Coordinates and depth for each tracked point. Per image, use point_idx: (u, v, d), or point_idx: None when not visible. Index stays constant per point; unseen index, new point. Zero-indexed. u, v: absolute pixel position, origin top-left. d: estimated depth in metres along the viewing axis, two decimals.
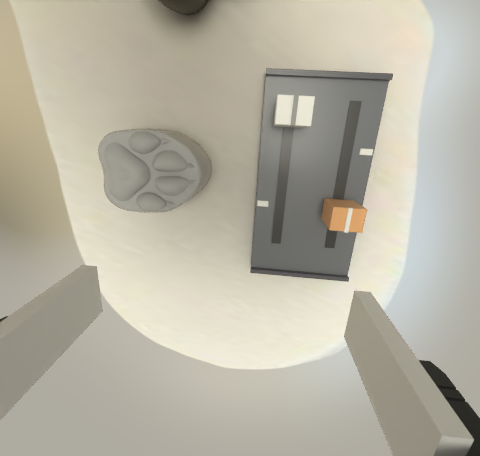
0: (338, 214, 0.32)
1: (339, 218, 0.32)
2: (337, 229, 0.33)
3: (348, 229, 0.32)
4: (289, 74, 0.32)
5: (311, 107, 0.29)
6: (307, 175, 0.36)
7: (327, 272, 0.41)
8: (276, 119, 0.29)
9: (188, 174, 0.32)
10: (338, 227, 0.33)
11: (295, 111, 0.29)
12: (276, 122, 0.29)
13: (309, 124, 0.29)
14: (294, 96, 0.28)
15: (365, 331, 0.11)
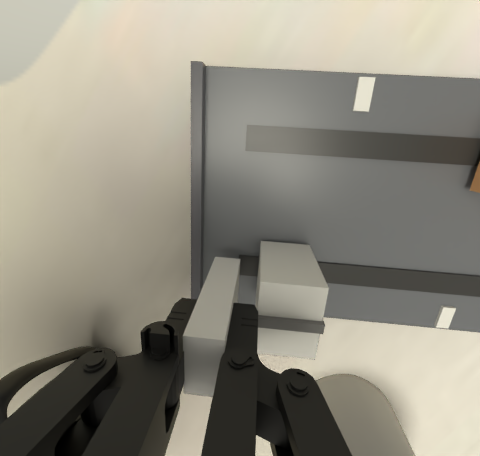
0: None
1: None
2: None
3: None
4: (199, 274, 0.17)
5: (284, 288, 0.12)
6: (398, 228, 0.16)
7: None
8: (305, 356, 0.13)
9: None
10: None
11: (293, 324, 0.12)
12: (311, 356, 0.13)
13: (324, 291, 0.12)
14: (259, 325, 0.12)
15: None
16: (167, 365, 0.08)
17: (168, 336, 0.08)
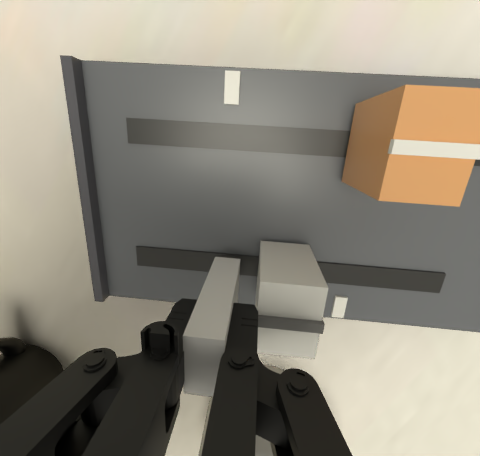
0: (407, 182, 0.10)
1: (422, 178, 0.10)
2: (463, 180, 0.10)
3: (475, 144, 0.09)
4: (96, 264, 0.18)
5: (284, 288, 0.12)
6: (283, 219, 0.16)
7: None
8: (305, 356, 0.13)
9: None
10: (456, 178, 0.10)
11: (293, 324, 0.12)
12: (311, 356, 0.13)
13: (324, 291, 0.12)
14: (259, 325, 0.12)
15: None
16: (167, 365, 0.08)
17: (168, 336, 0.08)
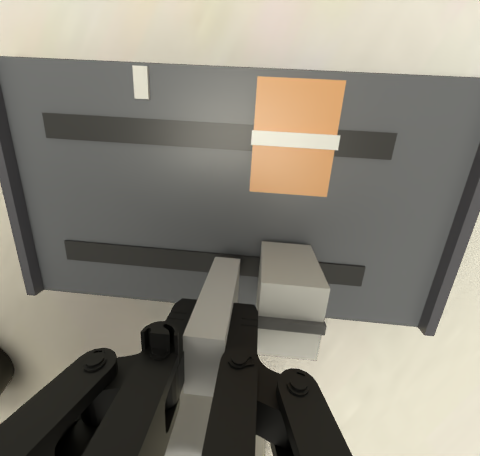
0: (273, 173, 0.10)
1: (287, 168, 0.10)
2: (326, 171, 0.10)
3: (329, 135, 0.09)
4: (25, 258, 0.18)
5: (286, 289, 0.12)
6: (204, 213, 0.17)
7: (475, 143, 0.14)
8: (306, 357, 0.13)
9: None
10: (319, 168, 0.10)
11: (294, 325, 0.12)
12: (313, 357, 0.13)
13: (326, 292, 0.11)
14: (260, 326, 0.12)
15: None
16: (167, 365, 0.08)
17: (168, 336, 0.08)
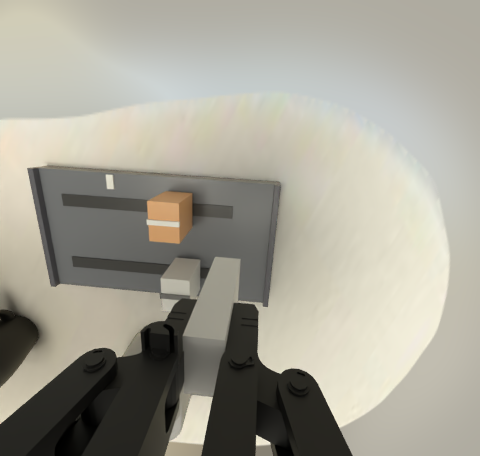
0: (157, 234, 0.25)
1: (162, 233, 0.25)
2: (177, 234, 0.25)
3: (174, 222, 0.24)
4: (50, 266, 0.33)
5: (171, 281, 0.27)
6: (145, 243, 0.32)
7: (269, 211, 0.29)
8: None
9: None
10: (174, 233, 0.25)
11: (176, 297, 0.27)
12: None
13: (187, 282, 0.27)
14: (162, 297, 0.27)
15: None
16: (167, 365, 0.08)
17: (168, 336, 0.08)
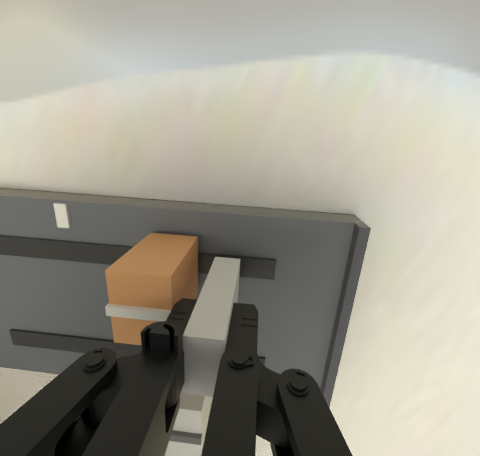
0: (130, 331, 0.13)
1: (139, 329, 0.13)
2: None
3: (162, 312, 0.12)
4: None
5: None
6: None
7: (342, 268, 0.17)
8: None
9: None
10: None
11: (176, 437, 0.14)
12: None
13: (198, 413, 0.14)
14: None
15: None
16: (167, 365, 0.08)
17: (168, 336, 0.08)
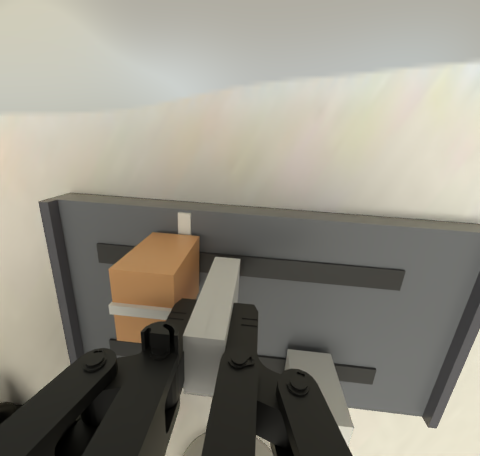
0: (133, 330, 0.13)
1: (142, 327, 0.13)
2: None
3: (165, 311, 0.12)
4: (75, 356, 0.20)
5: None
6: None
7: (472, 279, 0.16)
8: None
9: None
10: None
11: None
12: None
13: (350, 429, 0.14)
14: None
15: None
16: (167, 365, 0.08)
17: (168, 336, 0.08)
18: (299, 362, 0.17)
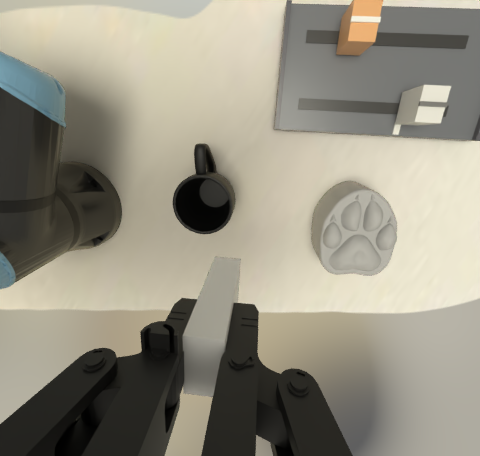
0: (357, 33, 0.29)
1: (362, 31, 0.29)
2: (375, 31, 0.29)
3: (377, 16, 0.28)
4: (280, 106, 0.36)
5: (433, 87, 0.30)
6: (373, 80, 0.35)
7: None
8: (436, 122, 0.31)
9: (364, 200, 0.35)
10: (373, 30, 0.29)
11: (435, 103, 0.30)
12: (439, 121, 0.31)
13: (449, 87, 0.30)
14: (420, 105, 0.31)
15: None
16: (167, 365, 0.08)
17: (168, 336, 0.08)
18: None
